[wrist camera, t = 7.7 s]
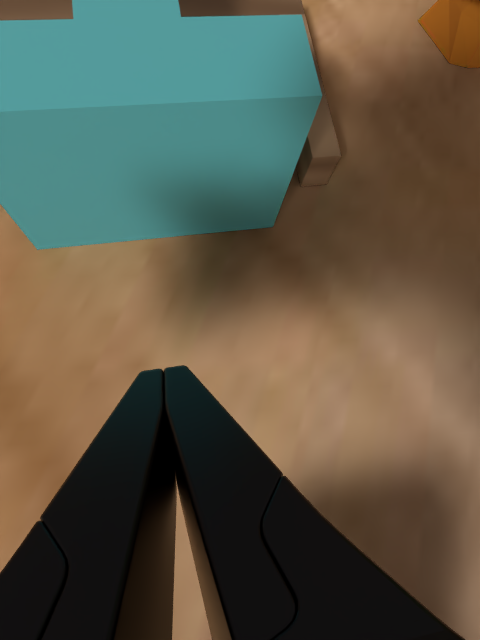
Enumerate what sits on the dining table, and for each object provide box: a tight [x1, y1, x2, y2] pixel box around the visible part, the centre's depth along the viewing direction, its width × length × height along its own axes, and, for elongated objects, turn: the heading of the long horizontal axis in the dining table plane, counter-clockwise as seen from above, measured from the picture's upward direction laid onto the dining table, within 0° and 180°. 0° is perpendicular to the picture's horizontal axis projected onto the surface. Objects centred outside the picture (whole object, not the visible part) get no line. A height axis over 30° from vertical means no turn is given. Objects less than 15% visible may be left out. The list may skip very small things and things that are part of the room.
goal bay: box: [0, 0, 341, 186], centre depth 22 cm, size 11×19×2 cm, turn 99°
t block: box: [0, 0, 322, 250], centre depth 19 cm, size 10×12×9 cm
